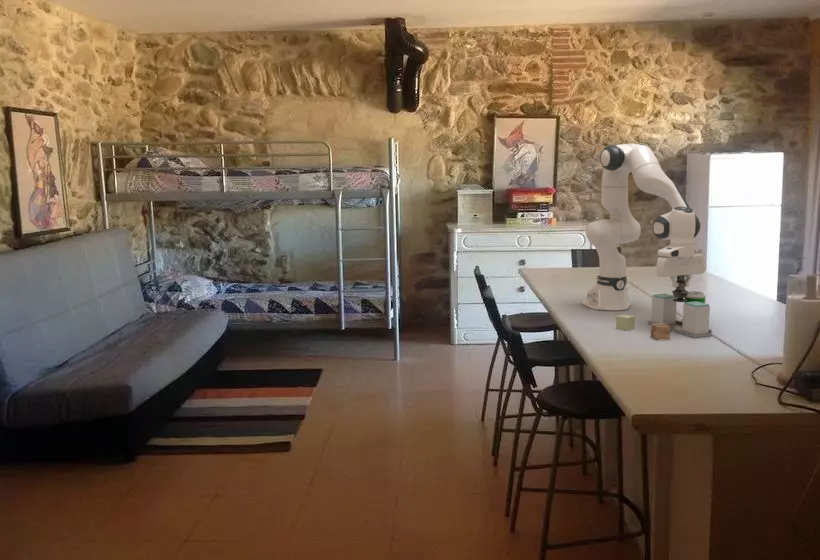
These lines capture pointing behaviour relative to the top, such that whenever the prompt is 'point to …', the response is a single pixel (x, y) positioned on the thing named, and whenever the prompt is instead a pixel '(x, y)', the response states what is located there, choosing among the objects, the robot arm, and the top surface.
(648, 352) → the top surface
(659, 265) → the robot arm
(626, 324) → the block olive
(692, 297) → the soda can
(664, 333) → the block walnut
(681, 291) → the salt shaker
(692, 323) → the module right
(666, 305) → the block
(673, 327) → the rail
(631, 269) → the top surface
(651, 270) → the top surface
